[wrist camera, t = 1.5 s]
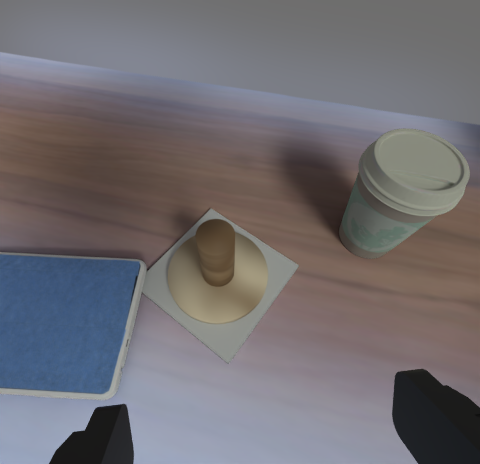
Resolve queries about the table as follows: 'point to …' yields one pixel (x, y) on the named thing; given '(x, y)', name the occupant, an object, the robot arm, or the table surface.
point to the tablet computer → (66, 323)
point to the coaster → (229, 334)
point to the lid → (217, 274)
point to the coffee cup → (401, 190)
